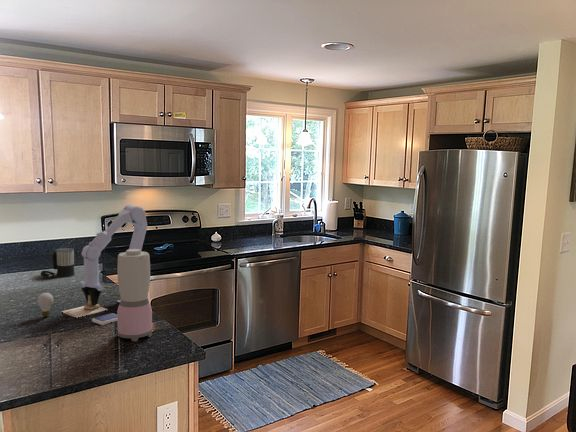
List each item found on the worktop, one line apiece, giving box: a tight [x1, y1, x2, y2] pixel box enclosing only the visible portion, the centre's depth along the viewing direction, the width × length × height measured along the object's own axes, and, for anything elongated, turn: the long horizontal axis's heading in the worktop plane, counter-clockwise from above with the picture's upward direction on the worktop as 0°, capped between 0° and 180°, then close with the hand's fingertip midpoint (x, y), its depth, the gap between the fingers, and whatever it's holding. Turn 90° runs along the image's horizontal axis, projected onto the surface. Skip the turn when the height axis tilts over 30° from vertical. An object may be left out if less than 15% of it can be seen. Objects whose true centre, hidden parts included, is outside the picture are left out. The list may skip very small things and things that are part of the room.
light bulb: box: [36, 292, 54, 318], centre depth 191 cm, size 6×6×10 cm
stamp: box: [83, 295, 101, 311], centre depth 202 cm, size 4×4×6 cm
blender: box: [116, 248, 153, 342], centre depth 172 cm, size 16×12×32 cm
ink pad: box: [91, 312, 117, 326], centre depth 189 cm, size 9×7×2 cm
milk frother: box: [40, 247, 76, 279], centre depth 258 cm, size 14×16×15 cm
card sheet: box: [61, 305, 109, 319], centre depth 200 cm, size 14×12×1 cm
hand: (92, 304), depth 203 cm, fingers closed on stamp, 3 cm apart
